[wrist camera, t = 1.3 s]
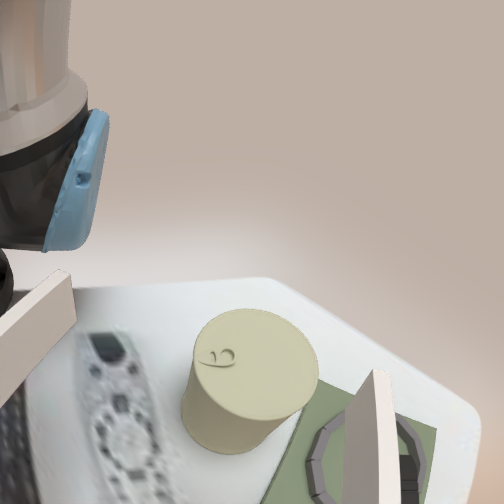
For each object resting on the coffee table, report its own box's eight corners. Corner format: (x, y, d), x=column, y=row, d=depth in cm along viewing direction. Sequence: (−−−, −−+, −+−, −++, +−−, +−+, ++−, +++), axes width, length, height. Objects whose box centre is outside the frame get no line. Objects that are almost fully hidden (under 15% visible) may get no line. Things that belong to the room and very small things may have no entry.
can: (179, 370, 31) (191, 299, 23) (264, 371, 33) (306, 306, 26) (183, 455, 24) (197, 421, 16) (278, 450, 27) (336, 411, 19)
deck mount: (257, 508, 22) (265, 507, 20) (313, 382, 34) (323, 372, 32) (406, 546, 19) (421, 544, 17) (431, 431, 31) (444, 424, 29)
